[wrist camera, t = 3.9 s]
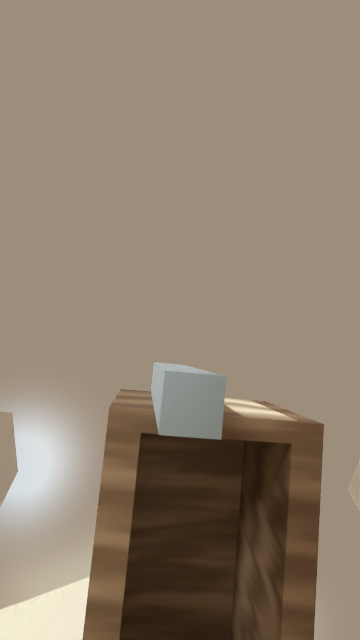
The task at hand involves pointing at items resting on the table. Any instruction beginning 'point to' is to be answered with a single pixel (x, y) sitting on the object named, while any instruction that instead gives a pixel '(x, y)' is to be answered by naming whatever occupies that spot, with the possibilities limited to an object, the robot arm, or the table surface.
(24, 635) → the table surface
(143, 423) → the shelf
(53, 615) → the table surface
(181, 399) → the rod
